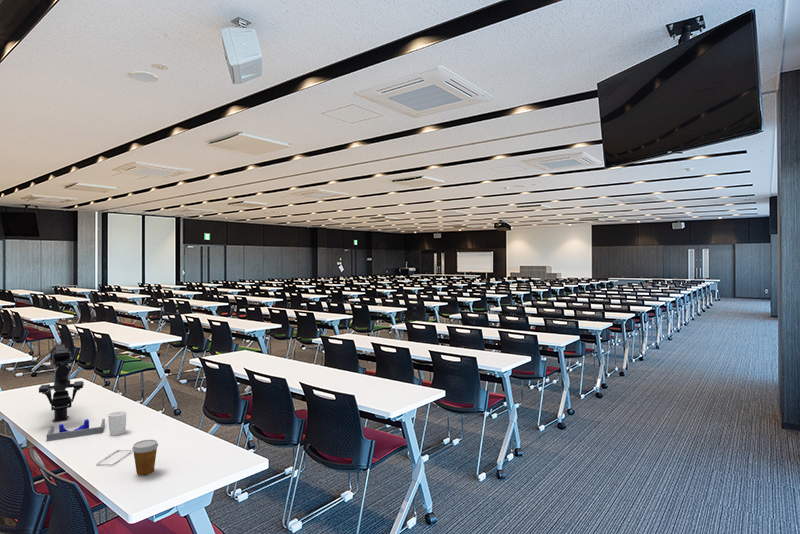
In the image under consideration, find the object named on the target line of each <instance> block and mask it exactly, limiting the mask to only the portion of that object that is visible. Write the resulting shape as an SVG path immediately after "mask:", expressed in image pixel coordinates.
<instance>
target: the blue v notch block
mask: <svg viewBox="0 0 800 534" xmlns="http://www.w3.org/2000/svg"><path fill="white" fill-rule="evenodd" d="M64 425H65V424H64V423H61V424H59V425H58V427H59V428H58V430H59V431H58V433H60V432H67V431H69V430H68V429H66V428H65V427H64ZM88 428H90V420H89V419H88V418H87V419H84V421H83V423H82V425H80V426H79V427H77V428H75V429H73V430H72V431H74V430H81V429H88Z"/></svg>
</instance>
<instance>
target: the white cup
mask: <svg viewBox="0 0 800 534" xmlns="http://www.w3.org/2000/svg"><path fill="white" fill-rule="evenodd" d="M107 416H108V417H107V419H108V420H107V421H108V429H109V431H108V432H109V436H114V437H116V436H121V435H123V434H125V433H126V426H127V411H124V410H118V411H112V412H109V414H108V415H107Z"/></svg>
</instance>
